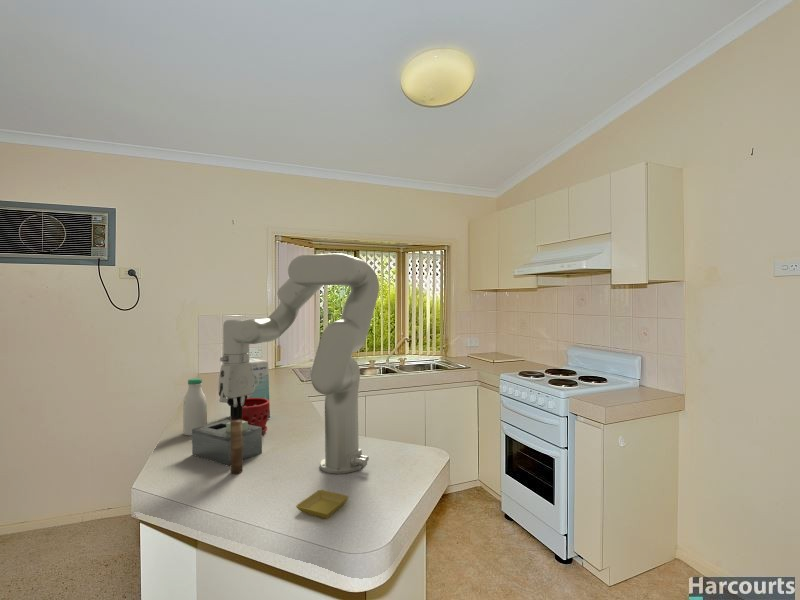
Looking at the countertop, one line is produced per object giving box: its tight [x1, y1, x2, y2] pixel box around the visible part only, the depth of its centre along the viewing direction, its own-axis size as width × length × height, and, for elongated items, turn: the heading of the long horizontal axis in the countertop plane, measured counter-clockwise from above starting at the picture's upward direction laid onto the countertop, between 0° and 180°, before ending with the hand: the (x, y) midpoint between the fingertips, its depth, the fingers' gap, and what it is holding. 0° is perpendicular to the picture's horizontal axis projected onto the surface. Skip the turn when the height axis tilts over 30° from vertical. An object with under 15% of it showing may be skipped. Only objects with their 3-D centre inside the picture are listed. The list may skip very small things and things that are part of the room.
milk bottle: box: [182, 377, 208, 437], centre depth 146 cm, size 8×8×20 cm
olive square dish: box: [295, 489, 350, 519], centre depth 88 cm, size 9×9×2 cm
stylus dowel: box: [230, 420, 243, 475], centre depth 109 cm, size 3×3×14 cm
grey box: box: [191, 419, 263, 467], centre depth 123 cm, size 18×12×8 cm, turn 58°
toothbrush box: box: [244, 357, 271, 419], centre depth 166 cm, size 18×10×24 cm, turn 41°
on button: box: [226, 421, 248, 433], centre depth 121 cm, size 4×4×5 cm
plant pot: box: [231, 398, 270, 435], centre depth 143 cm, size 13×13×12 cm
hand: (236, 418), depth 121 cm, fingers closed
